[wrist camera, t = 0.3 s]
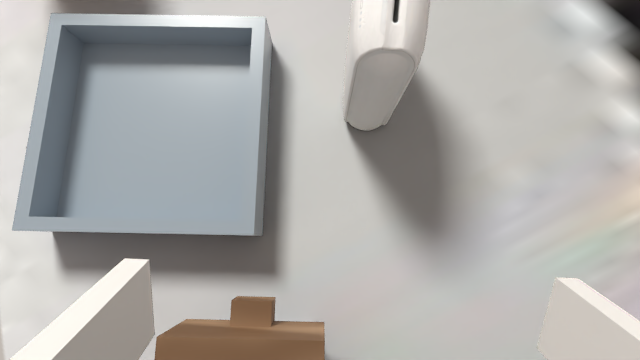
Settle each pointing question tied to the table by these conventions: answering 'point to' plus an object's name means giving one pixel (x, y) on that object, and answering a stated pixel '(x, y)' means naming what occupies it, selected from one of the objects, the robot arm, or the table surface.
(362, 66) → the photo printer
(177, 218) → the slate tray
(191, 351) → the walnut ring
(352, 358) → the table surface
